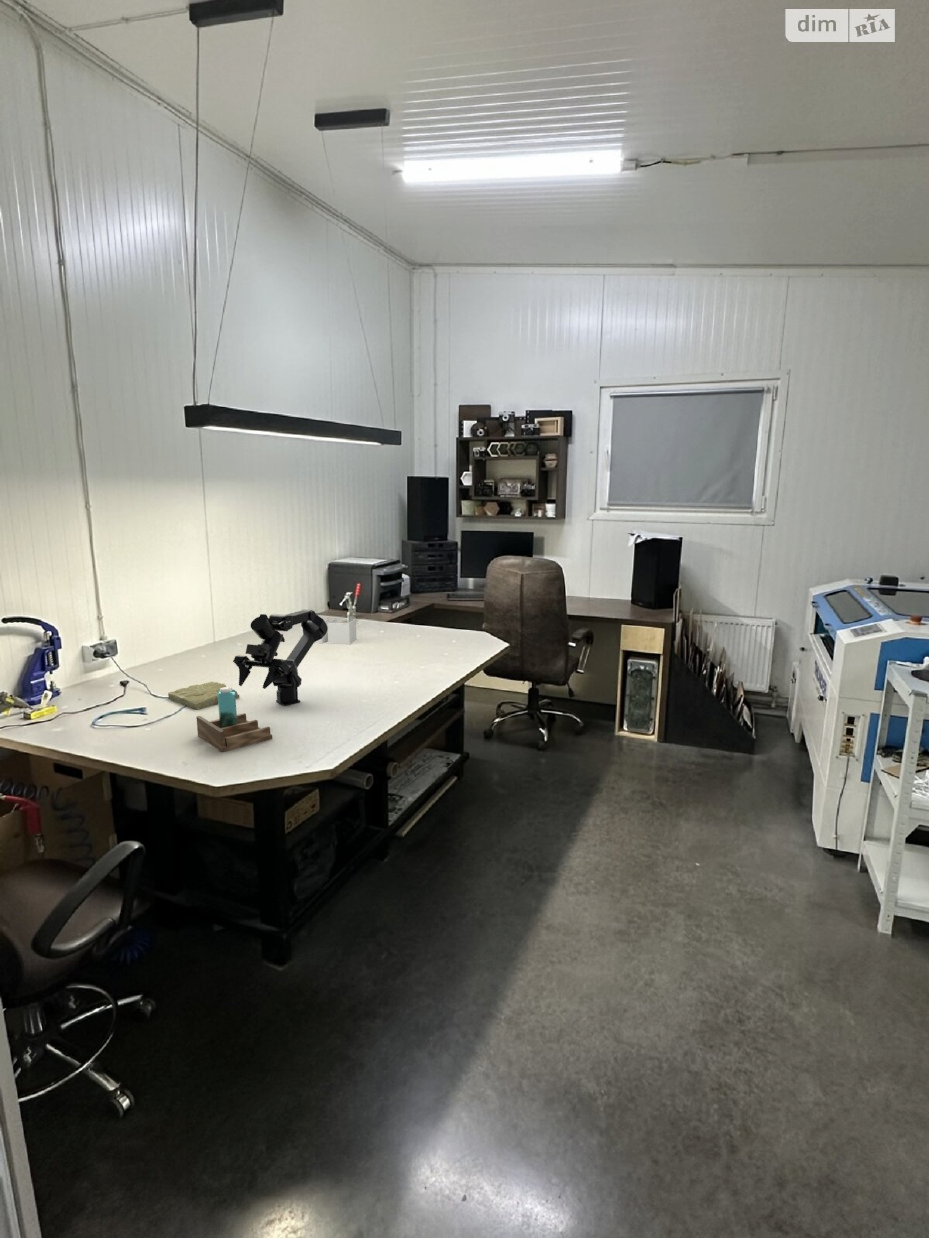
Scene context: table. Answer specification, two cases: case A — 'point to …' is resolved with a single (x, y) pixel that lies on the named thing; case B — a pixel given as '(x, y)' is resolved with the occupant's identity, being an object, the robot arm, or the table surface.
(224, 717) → the spray can
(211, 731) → the rack
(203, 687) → the decorative tile
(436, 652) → the table surface
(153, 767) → the table surface
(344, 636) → the storage container
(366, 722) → the table surface
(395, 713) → the table surface
